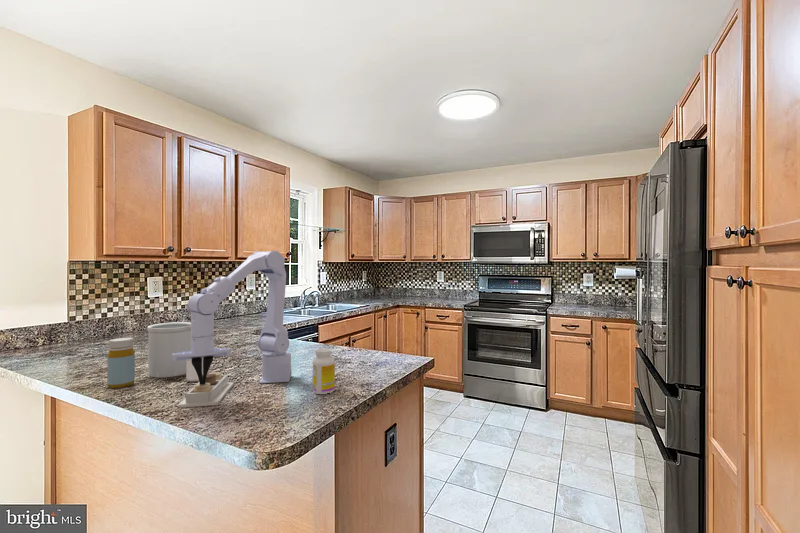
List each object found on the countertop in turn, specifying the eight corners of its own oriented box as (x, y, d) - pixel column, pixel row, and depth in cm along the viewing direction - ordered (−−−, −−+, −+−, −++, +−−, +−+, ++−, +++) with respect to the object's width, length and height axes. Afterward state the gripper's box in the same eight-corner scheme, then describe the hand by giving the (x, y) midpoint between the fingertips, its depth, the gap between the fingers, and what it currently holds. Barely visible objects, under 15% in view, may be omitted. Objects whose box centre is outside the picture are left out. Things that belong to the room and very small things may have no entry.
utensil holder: (202, 370, 135) (203, 323, 135) (159, 381, 122) (159, 329, 123) (182, 365, 143) (182, 320, 143) (139, 374, 130) (139, 325, 131)
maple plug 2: (222, 384, 116) (222, 371, 116) (219, 388, 112) (219, 375, 112) (209, 385, 115) (209, 372, 115) (205, 389, 112) (205, 376, 112)
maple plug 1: (212, 396, 105) (212, 382, 106) (207, 400, 102) (207, 386, 102) (197, 397, 105) (197, 383, 105) (192, 401, 101) (192, 387, 101)
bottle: (139, 383, 120) (139, 338, 120) (115, 390, 113) (115, 342, 113) (126, 380, 123) (127, 336, 123) (102, 387, 116) (103, 340, 116)
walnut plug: (217, 386, 111) (217, 373, 111) (213, 390, 107) (213, 377, 107) (203, 387, 110) (203, 374, 110) (198, 391, 106) (198, 377, 106)
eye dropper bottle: (194, 383, 120) (194, 347, 120) (184, 380, 123) (184, 345, 123) (207, 379, 124) (207, 344, 124) (196, 377, 127) (196, 343, 127)
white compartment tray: (233, 384, 118) (233, 374, 118) (217, 404, 101) (217, 392, 101) (200, 386, 116) (200, 375, 116) (178, 407, 99) (178, 394, 99)
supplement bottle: (338, 389, 113) (338, 348, 114) (327, 396, 107) (327, 353, 107) (320, 387, 116) (320, 347, 116) (308, 394, 109) (308, 351, 109)
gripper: (229, 331, 110) (229, 376, 110) (174, 335, 103) (174, 383, 103) (230, 335, 104) (230, 382, 104) (171, 340, 97) (171, 390, 97)
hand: (202, 383), depth 103 cm, fingers closed
